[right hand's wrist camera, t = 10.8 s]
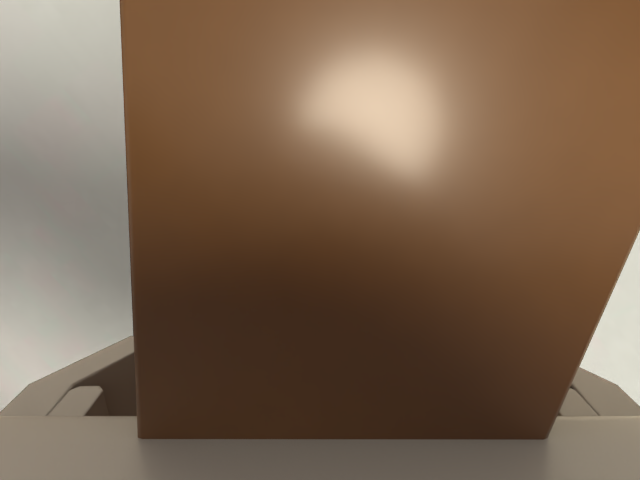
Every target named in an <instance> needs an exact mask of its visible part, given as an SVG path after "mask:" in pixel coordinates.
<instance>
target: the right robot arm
mask: <svg viewBox="0 0 640 480" xmlns="http://www.w3.org/2000/svg"><path fill="white" fill-rule="evenodd" d="M0 480H640V406H639V405H638V404H637V403H635V402H634V401H633V400H632V399H631V398H630V397H629V396H628V395H627V394H626V393H625V392H624V391H623V390H622V389H621V388H620V387H619V386H618V385H616V384H614V383H612V382H610V381H608V380H605V379H603V378H601V377H599V376H597V375H595V374H593V373H591V372H589V371H586V370H584V369H582V368H580V367H579V368H578V370H577V373H576V375H575V377H574V379H573V382H572V384H571V386H570V388H569V391H568V393H567V395H566V397H565V400H564V402H563V404H562V406H561V409H560V411H559V413H558V415H557V418H556V420H555V422H554V424H553V427H552V429H551V431H550V433H549V436H548V438H546V439H544V440H483V439H140V438H138V432H137V408H136V384H135V359H134V336H130V337H128V338H125V339H123V340H121V341H119V342H117V343H115V344H113V345H111V346H109V347H107V348H104V349H102V350H100V351H98V352H96V353H94V354H92V355H90V356H88V357H86V358H83V359H81V360H79V361H77V362H75V363H73V364H71V365H69V366H67V367H65V368H62V369H60V370H58V371H56V372H54V373H52V374H50V375H48V376H46V377H44V378H41V379H39V380H37V381H35V382H33V383H31V384H29V385H28V386H27V387H26V388H25V389H24V390H23V391H22V392H21V393H20V394H19V395H18V396H16V397H15V398H14V399H13V400H12V401H11V402H10V403H9V404H8V405H7V406H6V407H5V408H4V409H3V410H2V411H1V412H0Z"/></svg>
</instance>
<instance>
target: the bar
mask: <svg viewBox="0 0 640 480" xmlns="http://www.w3.org/2000/svg"><path fill="white" fill-rule="evenodd" d="M120 19H121V43H122V67H123V92H124V116H125V140H126V165H127V189H128V213H129V238H130V262H131V286H132V311H133V335H134V359H135V384H136V408H137V432H138V438H140V439H483V440H544V439H546V438H548V436H549V433H550V431H551V429H552V427H553V424H554V422H555V420H556V418H557V415H558V413H559V411H560V409H561V406H562V404H563V402H564V400H565V397H566V395H567V393H568V391H569V388H570V386H571V384H572V382H573V379H574V377H575V375H576V373H577V370H578V368H579V366H580V364H581V361H582V359H583V357H584V355H585V352H586V350H587V348H588V346H589V343H590V341H591V339H592V337H593V334H594V332H595V330H596V328H597V325H598V323H599V321H600V319H601V316H602V314H603V312H604V310H605V307H606V305H607V303H608V301H609V298H610V296H611V294H612V292H613V289H614V287H615V285H616V283H617V280H618V278H619V276H620V274H621V271H622V269H623V267H624V265H625V262H626V260H627V258H628V256H629V253H630V251H631V249H632V247H633V244H634V242H635V240H636V237H637V235H638V233H639V231H640V0H120Z"/></svg>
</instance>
